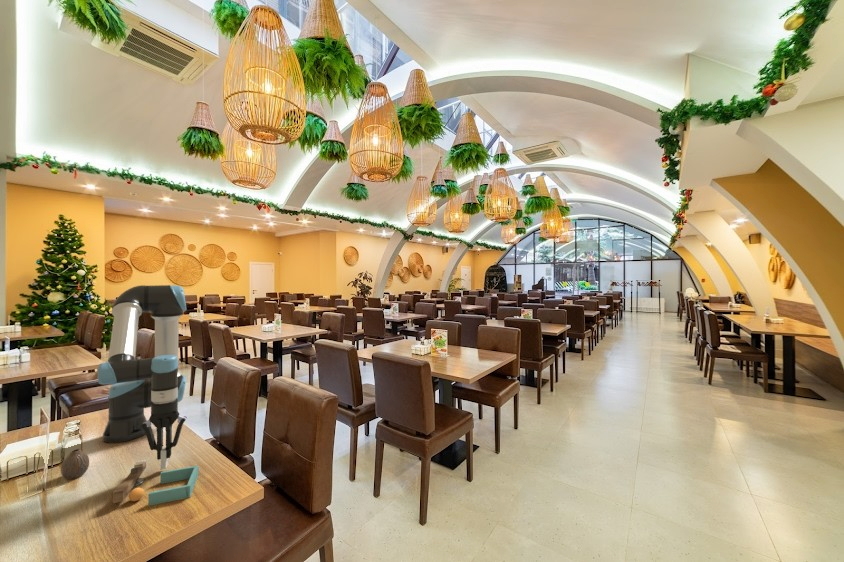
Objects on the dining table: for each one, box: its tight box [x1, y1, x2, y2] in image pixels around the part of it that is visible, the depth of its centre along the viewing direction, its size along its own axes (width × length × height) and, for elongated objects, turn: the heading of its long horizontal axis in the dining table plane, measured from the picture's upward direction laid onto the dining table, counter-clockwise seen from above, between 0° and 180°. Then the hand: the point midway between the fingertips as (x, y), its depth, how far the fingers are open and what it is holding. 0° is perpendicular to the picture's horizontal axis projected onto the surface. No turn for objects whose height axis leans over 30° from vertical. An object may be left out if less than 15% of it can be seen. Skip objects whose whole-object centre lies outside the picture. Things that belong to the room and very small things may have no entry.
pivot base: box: [132, 477, 145, 488], centre depth 114 cm, size 5×5×1 cm
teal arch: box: [147, 465, 199, 506], centre depth 111 cm, size 13×10×4 cm
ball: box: [128, 487, 145, 502], centre depth 106 cm, size 4×4×4 cm
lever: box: [112, 459, 147, 504], centre depth 111 cm, size 20×2×4 cm, turn 23°
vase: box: [60, 448, 90, 480], centre depth 118 cm, size 7×7×9 cm
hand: (164, 467), depth 122 cm, fingers closed
